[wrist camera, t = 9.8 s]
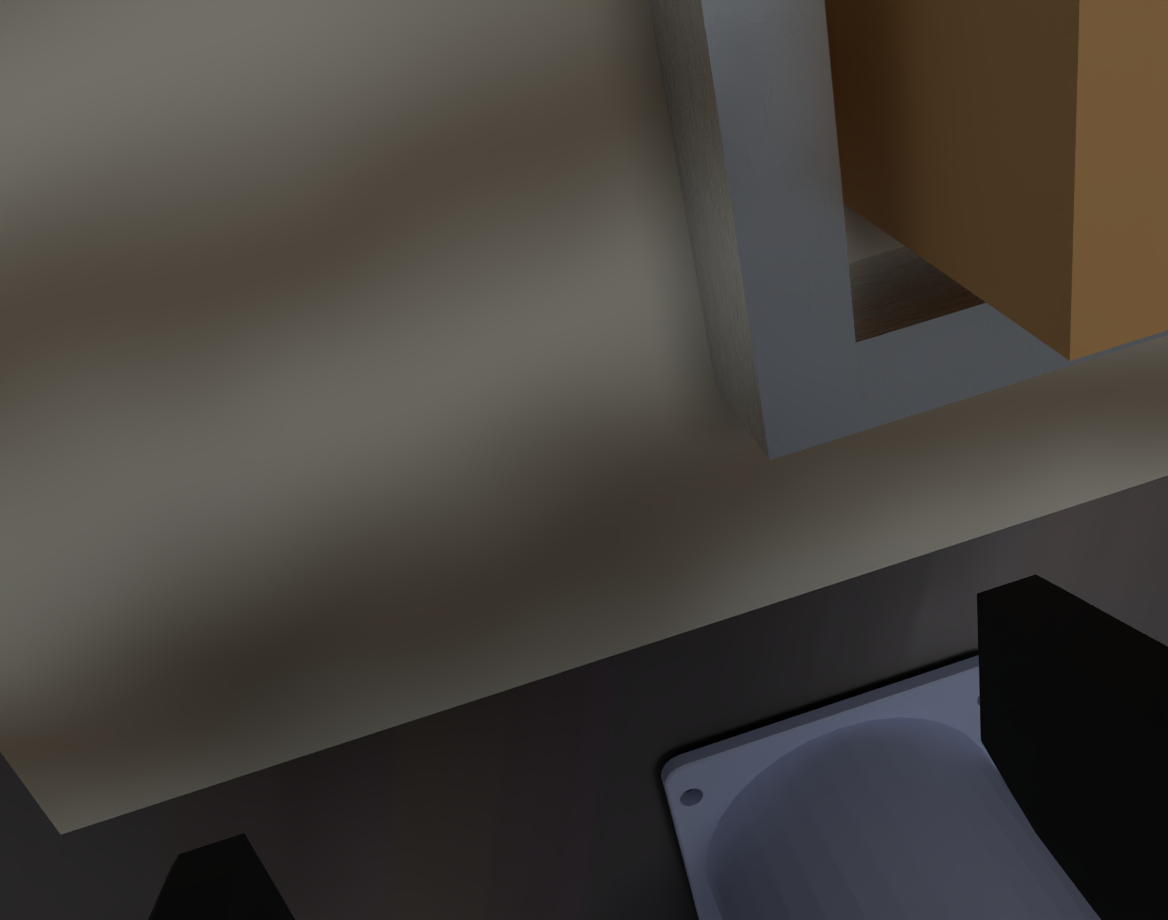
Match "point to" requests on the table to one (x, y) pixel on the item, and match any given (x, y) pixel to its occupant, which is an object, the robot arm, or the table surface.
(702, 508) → the base board
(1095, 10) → the cardboard-brown box
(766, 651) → the table surface
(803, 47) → the grey rectangular frame
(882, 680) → the table surface
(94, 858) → the table surface
